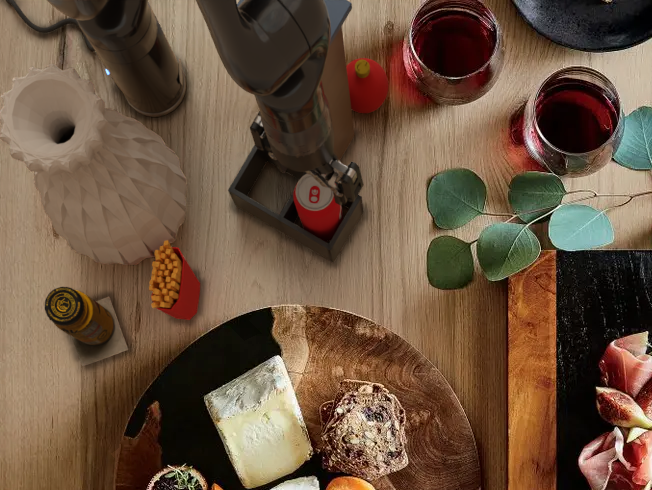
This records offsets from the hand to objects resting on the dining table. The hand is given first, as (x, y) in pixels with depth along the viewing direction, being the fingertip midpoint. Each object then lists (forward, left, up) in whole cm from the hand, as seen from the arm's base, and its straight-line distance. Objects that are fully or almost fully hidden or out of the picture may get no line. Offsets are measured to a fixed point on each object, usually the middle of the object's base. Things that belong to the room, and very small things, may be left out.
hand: (313, 181), depth 107 cm
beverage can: (0, 0, -15) cm, 15 cm away
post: (-7, +9, -15) cm, 19 cm away
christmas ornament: (-4, +19, -15) cm, 25 cm away
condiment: (-21, -31, -15) cm, 41 cm away
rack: (-4, 0, -15) cm, 16 cm away
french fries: (-12, -20, -15) cm, 28 cm away
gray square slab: (-7, +9, +15) cm, 19 cm away
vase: (-25, -13, -15) cm, 32 cm away
